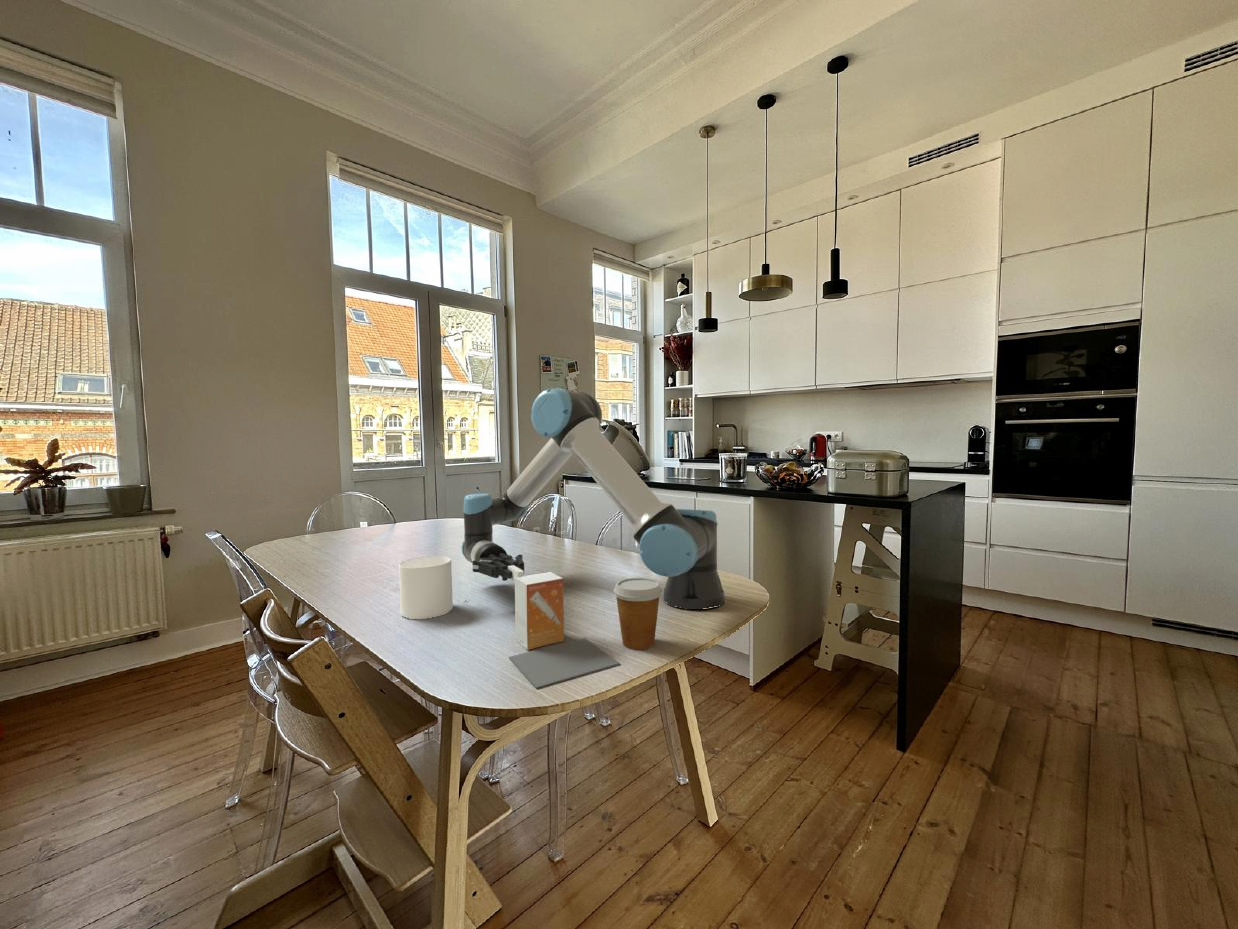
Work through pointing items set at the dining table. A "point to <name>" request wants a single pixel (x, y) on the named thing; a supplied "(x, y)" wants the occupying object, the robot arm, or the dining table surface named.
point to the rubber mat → (562, 662)
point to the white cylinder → (425, 587)
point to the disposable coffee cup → (638, 611)
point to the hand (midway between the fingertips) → (520, 577)
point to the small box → (539, 610)
